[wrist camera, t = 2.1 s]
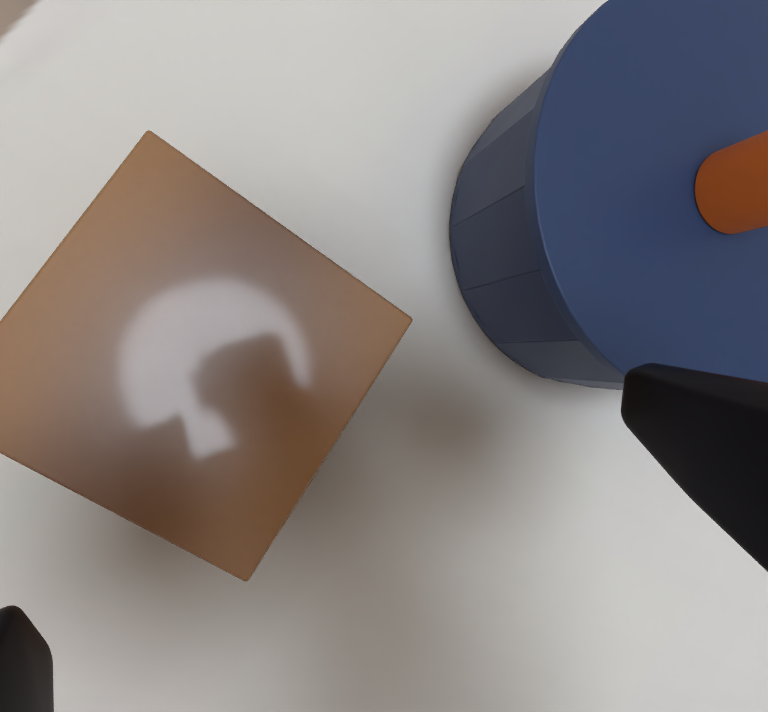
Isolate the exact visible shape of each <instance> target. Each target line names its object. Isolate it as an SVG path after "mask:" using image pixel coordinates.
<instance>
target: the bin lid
mask: <svg viewBox="0 0 768 712" xmlns="http://www.w3.org/2000/svg"><path fill="white" fill-rule="evenodd" d="M525 202H526V211H527V219H528V227H529V231H530V235H531V240H532V244H533V248H534V252H535V256H536V259H537V262H538V265H539V268H540V270H541V273H542V276H543V279H544V281H545V284H546V286H547V288H548V290H549V292H550V294H551V296H552V298H553V300H554V302H555V304H556V306H557V308H558V310H559V312H560V314H561V315H562V317H563V318H564V320H565V321H566V323H567V324H568V326H569V327H570V329H571V330H572V332H573V333H574V335H575V336H576V338H577V339H578V340H579V341H580V342H581V343H582V344H583V346H584V347H585V348H586V349H587V350H588V351H589V353H590V354H591V355H592V356H593V357H594V358H595V359H596V360H597V361H598V362H599V363H601V364H602V365H603V366H604V367H605V368H606V369H607V370H608V371H610V372H611V373H612V374H613V375H614V376H616V377H617V378H619V379H620V380H622V381H623V382H624V377H625V375H626V373H627V372H628V371H629V370H630V369H632V368H635V367H638V366H640V365H643V364H646V363H658V364H664V365H669V366H675V367H681V368H687V369H692V370H698V371H704V372H710V373H715V374H721V375H727V376H733V377H738V378H744V379H750V380H756V381H761V382H767V383H768V0H608V1H607V2H605V3H604V4H603V5H602V6H600V7H599V8H598V9H597V10H596V11H595V12H594V13H593V14H592V15H591V16H590V17H589V18H588V19H587V20H586V21H585V22H584V23H583V24H582V25H581V26H580V27H579V28H578V29H577V30H576V31H575V32H574V33H573V34H572V36H571V37H570V38H569V40H568V41H567V42H566V44H565V45H564V46H563V48H562V49H561V51H560V52H559V53H558V55H557V57H556V59H555V61H554V63H553V64H552V66H551V68H550V70H549V72H548V74H547V75H546V77H545V80H544V83H543V85H542V88H541V91H540V93H539V96H538V98H537V101H536V104H535V107H534V111H533V116H532V120H531V124H530V128H529V132H528V139H527V147H526V156H525Z"/></svg>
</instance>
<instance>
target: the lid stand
mask: <svg viewBox="0 0 768 712" xmlns="http://www.w3.org/2000/svg"><path fill="white" fill-rule="evenodd" d="M411 322H412V318H411V317H410V316H408V315H407V314H406V313H404V312H403V311H401V310H400V309H399V308H397V307H396V306H394V305H393V304H392V303H390V302H389V301H387V300H386V299H385V298H383V297H382V296H380V295H379V294H378V293H376V292H375V291H373V290H372V289H371V288H369V287H368V286H367V285H365V284H364V283H362V282H361V281H360V280H358V279H357V278H355V277H354V276H353V275H351V274H350V273H348V272H347V271H346V270H344V269H343V268H341V267H340V266H339V265H337V264H336V263H334V262H333V261H332V260H330V259H329V258H327V257H326V256H325V255H323V254H322V253H320V252H319V251H318V250H316V249H315V248H313V247H312V246H311V245H309V244H308V243H306V242H305V241H304V240H302V239H301V238H300V237H298V236H297V235H295V234H294V233H293V232H291V231H290V230H288V229H287V228H286V227H284V226H283V225H281V224H280V223H279V222H277V221H276V220H274V219H273V218H272V217H270V216H269V215H267V214H266V213H265V212H263V211H262V210H260V209H259V208H258V207H256V206H255V205H253V204H252V203H251V202H249V201H248V200H246V199H245V198H244V197H242V196H241V195H240V194H238V193H237V192H235V191H234V190H233V189H231V188H230V187H228V186H227V185H226V184H224V183H223V182H221V181H220V180H219V179H217V178H216V177H214V176H213V175H212V174H210V173H209V172H207V171H206V170H205V169H203V168H202V167H200V166H199V165H198V164H196V163H195V162H193V161H192V160H191V159H189V158H188V157H186V156H185V155H184V154H182V153H181V152H179V151H178V150H177V149H175V148H174V147H173V146H171V145H170V144H168V143H167V142H166V141H164V140H163V139H161V138H160V137H159V136H157V135H156V134H154V133H153V132H152V131H149V130H148V131H146V133H145V134H144V135H143V137H142V138H141V139H140V140H139V142H138V143H137V144H136V146H135V147H134V148H133V150H132V151H131V152H130V153H129V155H128V156H127V157H126V159H125V160H124V161H123V163H122V164H121V165H120V166H119V168H118V169H117V170H116V172H115V173H114V174H113V176H112V177H111V178H110V179H109V181H108V182H107V183H106V185H105V186H104V187H103V189H102V190H101V191H100V192H99V194H98V195H97V196H96V198H95V199H94V200H93V202H92V203H91V204H90V205H89V207H88V208H87V209H86V211H85V212H84V213H83V215H82V216H81V217H80V218H79V220H78V221H77V222H76V224H75V225H74V226H73V228H72V229H71V230H70V231H69V233H68V234H67V235H66V237H65V238H64V239H63V241H62V242H61V243H60V244H59V246H58V247H57V248H56V250H55V251H54V252H53V254H52V255H51V256H50V257H49V259H48V260H47V261H46V263H45V264H44V265H43V267H42V268H41V269H40V270H39V272H38V273H37V274H36V276H35V277H34V278H33V280H32V281H31V282H30V283H29V285H28V286H27V287H26V289H25V290H24V291H23V292H22V294H21V295H20V296H19V298H18V299H17V300H16V302H15V303H14V304H13V305H12V307H11V308H10V309H9V311H8V312H7V313H6V315H5V316H4V317H3V318H2V320H1V321H0V453H1V454H3V455H5V456H7V457H9V458H11V459H12V460H14V461H16V462H18V463H20V464H22V465H24V466H26V467H28V468H30V469H32V470H33V471H35V472H37V473H39V474H41V475H43V476H45V477H47V478H49V479H51V480H53V481H54V482H56V483H58V484H60V485H62V486H64V487H66V488H68V489H70V490H72V491H73V492H75V493H77V494H79V495H81V496H83V497H85V498H87V499H89V500H91V501H93V502H94V503H96V504H98V505H100V506H102V507H104V508H106V509H108V510H110V511H112V512H114V513H115V514H117V515H119V516H121V517H123V518H125V519H127V520H129V521H131V522H133V523H134V524H136V525H138V526H140V527H142V528H144V529H146V530H148V531H150V532H152V533H154V534H155V535H157V536H159V537H161V538H163V539H165V540H167V541H169V542H171V543H173V544H175V545H176V546H178V547H180V548H182V549H184V550H186V551H188V552H190V553H192V554H194V555H196V556H197V557H199V558H201V559H203V560H205V561H207V562H209V563H211V564H213V565H215V566H216V567H218V568H220V569H222V570H224V571H226V572H228V573H230V574H232V575H234V576H236V577H237V578H239V579H241V580H243V581H248V580H249V579H250V577H251V576H252V574H253V572H254V571H255V569H256V568H257V566H258V564H259V563H260V561H261V560H262V558H263V557H264V555H265V553H266V552H267V550H268V549H269V547H270V545H271V544H272V542H273V541H274V539H275V538H276V536H277V534H278V533H279V531H280V530H281V528H282V527H283V525H284V523H285V522H286V520H287V519H288V517H289V515H290V514H291V512H292V511H293V509H294V508H295V506H296V504H297V503H298V501H299V500H300V498H301V496H302V495H303V493H304V492H305V490H306V489H307V487H308V485H309V484H310V482H311V481H312V479H313V477H314V476H315V474H316V473H317V471H318V470H319V468H320V466H321V465H322V463H323V462H324V460H325V458H326V457H327V455H328V454H329V452H330V451H331V449H332V447H333V446H334V444H335V443H336V441H337V439H338V438H339V436H340V435H341V433H342V432H343V430H344V428H345V427H346V425H347V424H348V422H349V420H350V419H351V417H352V416H353V414H354V413H355V411H356V409H357V408H358V406H359V405H360V403H361V401H362V400H363V398H364V397H365V395H366V394H367V392H368V390H369V389H370V387H371V386H372V384H373V382H374V381H375V379H376V378H377V376H378V375H379V373H380V371H381V370H382V368H383V367H384V365H385V363H386V362H387V360H388V359H389V357H390V356H391V354H392V352H393V351H394V349H395V348H396V346H397V345H398V343H399V341H400V340H401V338H402V337H403V335H404V333H405V332H406V330H407V329H408V327H409V326H410V324H411Z"/></svg>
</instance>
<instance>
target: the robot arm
mask: <svg viewBox="0 0 768 712" xmlns="http://www.w3.org/2000/svg"><path fill="white" fill-rule="evenodd" d="M621 415H622V418H623V421H624V423H625V424H626V426H627V427H628V428H629V429H630V431H631V432H632V433H633V434H634V435H635V436H636V437H637V438H638V440H639V441H640V442H641V443H642V444H643V445H644V446H645V448H646V449H647V450H648V451H649V452H650V453H651V454H652V456H653V457H654V458H655V459H656V460H657V461H658V462H659V464H660V465H661V466H662V467H663V468H664V469H665V470H666V472H667V473H668V474H669V475H670V476H671V477H672V478H673V479H674V481H675V482H676V483H677V484H678V485H679V486H680V487H681V488H682V489H683V491H684V492H685V493H686V494H687V495H688V496H689V497H690V498H691V499H692V500H693V501H694V502H695V503H696V504H697V505H698V506H699V507H700V508H701V509H702V510H703V511H704V512H705V513H706V514H707V515H708V516H710V517H711V518H712V519H713V520H714V521H715V522H716V523H717V524H718V525H719V526H720V527H721V528H722V529H723V530H724V531H725V532H726V533H727V534H728V535H730V536H731V537H732V538H733V539H734V540H735V541H736V542H737V543H738V544H739V545H740V546H741V547H742V548H743V549H744V550H745V551H746V552H747V553H749V554H750V555H751V556H752V557H753V558H754V559H755V560H756V561H757V562H758V563H759V564H760V565H761V566H762V567H763V568H764V569H765V570H766V571H767V572H768V383H767V382H761V381H756V380H750V379H744V378H738V377H733V376H727V375H721V374H715V373H710V372H704V371H698V370H692V369H687V368H681V367H675V366H669V365H664V364H658V363H646V364H643V365H640V366H638V367H635V368H632V369H630V370H629V371H628V372H627V373H626V375H625V377H624V384H623V394H622V404H621ZM0 712H54V700H53V660H52V655H51V651H50V648H49V646H48V644H47V642H46V641H45V640H44V638H43V637H42V636H41V634H40V633H39V632H38V630H37V629H36V628H35V626H34V625H33V624H32V622H31V621H30V620H29V618H28V617H27V616H26V614H25V613H24V612H23V611H22V610H21V609H20V608H19V607H17V606H7V607H4V608H1V609H0Z"/></svg>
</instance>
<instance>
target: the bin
mask: <svg viewBox="0 0 768 712" xmlns="http://www.w3.org/2000/svg"><path fill="white" fill-rule="evenodd" d="M549 70H550V69H549ZM549 70H548V71H546V72H545V73H544V74H543V75H542V76H541V77H540V78H539V79H537V80H536V81H535V82H534V83H533V84H532V85H531V86H530V87H528V88H527V89H526V90H525V91H524V92H523V93H522V94H521V95H520V96H518V97H517V98H516V99H515V100H514V101H513V102H512V103H511V104H509V105H508V106H507V107H506V108H505V109H504V110H503V111H502V112H500V113H499V114H498V115H497V116H496V117H495V118H494V119H493V120H492V122H491V123H490V125H489V126H488V128H487V129H486V130H485V131H484V133H483V134H482V135H481V137H480V138H479V139H478V141H477V142H476V143H475V145H474V146H473V148H472V150H471V151H470V153H469V155H468V157H467V159H466V160H465V162H464V164H463V167H462V170H461V172H460V175H459V177H458V180H457V183H456V187H455V191H454V195H453V199H452V207H451V215H450V245H451V253H452V261H453V265H454V269H455V273H456V277H457V281H458V284H459V287H460V289H461V292H462V294H463V297H464V300H465V302H466V304H467V305H468V307H469V309H470V311H471V313H472V315H473V317H474V318H475V320H476V321H477V323H478V324H479V326H480V327H481V328H482V330H483V331H484V333H485V334H486V335H487V336H488V337H489V339H490V340H491V341H492V342H493V343H494V344H495V345H496V346H497V347H498V348H499V349H500V350H501V351H502V352H503V353H505V354H506V355H507V356H508V357H509V358H510V359H512V360H513V361H515V362H516V363H518V364H519V365H521V366H522V367H524V368H526V369H527V370H529V371H531V372H534V373H536V374H537V375H539V376H541V377H544V378H549V379H552V380H556V381H559V382H567V383H573V384H578V385H583V386H587V387H595V388H606V389H616V390H623V384H624V382H623V381H622V380H620V379H619V378H617V377H616V376H614V375H613V374H612V373H611V372H610V371H608V370H607V369H606V368H605V367H604V366H603V365H602V364H601V363H599V362H598V361H597V360H596V359H595V358H594V357H593V356H592V355H591V354H590V353H589V351H588V350H587V349H586V348H585V347H584V346H583V344H582V343H581V342H580V341H579V340H578V339H577V338H576V336H575V335H574V333H573V332H572V330H571V329H570V327H569V326H568V324H567V323H566V321H565V320H564V318H563V317H562V315H561V314H560V312H559V310H558V308H557V306H556V304H555V302H554V300H553V298H552V296H551V294H550V292H549V290H548V288H547V286H546V284H545V281H544V279H543V276H542V273H541V270H540V268H539V265H538V262H537V259H536V256H535V252H534V248H533V244H532V240H531V235H530V231H529V227H528V219H527V211H526V202H525V156H526V147H527V139H528V132H529V128H530V124H531V120H532V116H533V111H534V107H535V104H536V101H537V98H538V96H539V93H540V91H541V88H542V85H543V83H544V80H545V77H546V75H547V74H548V72H549Z"/></svg>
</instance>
